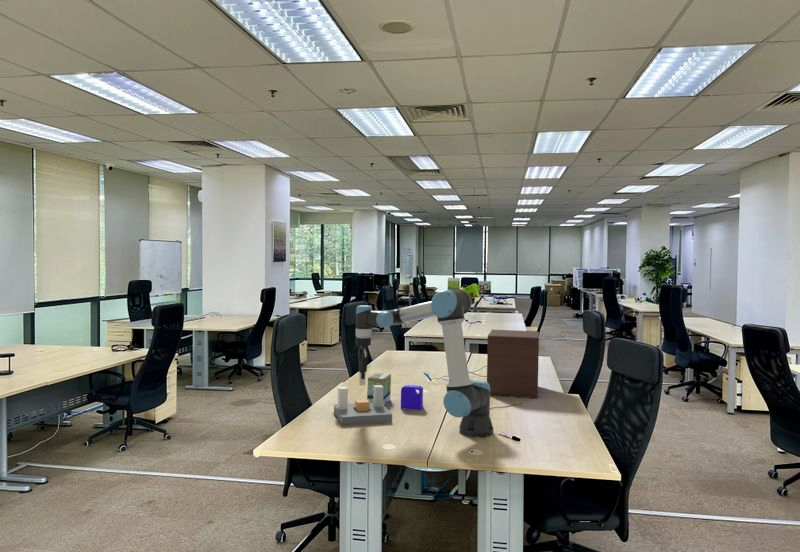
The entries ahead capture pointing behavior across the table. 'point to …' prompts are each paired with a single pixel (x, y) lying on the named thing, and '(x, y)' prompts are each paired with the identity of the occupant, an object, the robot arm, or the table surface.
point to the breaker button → (362, 405)
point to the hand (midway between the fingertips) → (362, 385)
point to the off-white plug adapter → (342, 397)
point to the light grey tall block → (378, 395)
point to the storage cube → (513, 363)
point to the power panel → (362, 415)
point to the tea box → (379, 380)
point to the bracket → (412, 397)
